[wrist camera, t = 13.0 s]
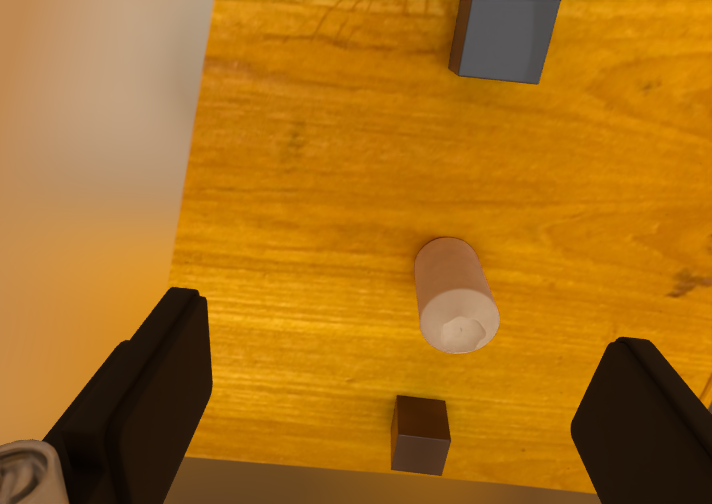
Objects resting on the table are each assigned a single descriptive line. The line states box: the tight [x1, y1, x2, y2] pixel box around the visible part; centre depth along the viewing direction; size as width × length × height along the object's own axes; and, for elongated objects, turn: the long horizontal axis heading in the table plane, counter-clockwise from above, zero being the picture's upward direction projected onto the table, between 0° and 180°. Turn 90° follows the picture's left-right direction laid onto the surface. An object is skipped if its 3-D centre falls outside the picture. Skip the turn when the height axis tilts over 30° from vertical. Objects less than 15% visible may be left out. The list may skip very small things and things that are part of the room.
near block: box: [448, 0, 561, 84], centre depth 28 cm, size 5×5×5 cm
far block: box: [391, 396, 451, 476], centre depth 45 cm, size 5×5×5 cm
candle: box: [414, 237, 500, 354], centre depth 35 cm, size 6×6×10 cm
